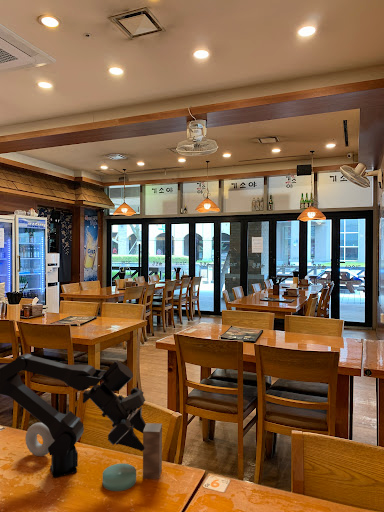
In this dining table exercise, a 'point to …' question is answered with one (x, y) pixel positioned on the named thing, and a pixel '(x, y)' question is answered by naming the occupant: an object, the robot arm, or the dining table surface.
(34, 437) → the donut
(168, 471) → the dining table surface
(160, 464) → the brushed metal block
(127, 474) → the teal base
